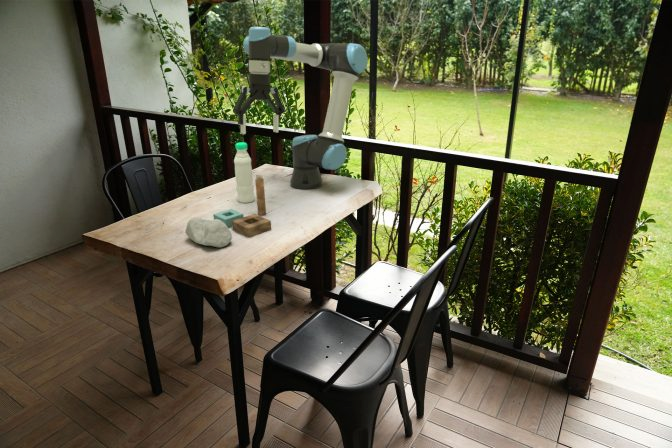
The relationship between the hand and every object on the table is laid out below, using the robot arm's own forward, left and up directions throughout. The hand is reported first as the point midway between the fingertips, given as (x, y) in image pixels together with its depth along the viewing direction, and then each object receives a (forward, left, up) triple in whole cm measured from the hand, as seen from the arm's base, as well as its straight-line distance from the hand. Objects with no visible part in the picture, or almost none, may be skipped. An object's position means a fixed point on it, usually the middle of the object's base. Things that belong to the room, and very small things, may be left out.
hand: (259, 132), depth 175 cm
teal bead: (+16, -2, -32) cm, 36 cm away
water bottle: (-3, -17, -32) cm, 37 cm away
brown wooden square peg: (+2, +1, -32) cm, 32 cm away
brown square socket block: (+14, +11, -32) cm, 37 cm away
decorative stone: (+31, +9, -32) cm, 46 cm away
